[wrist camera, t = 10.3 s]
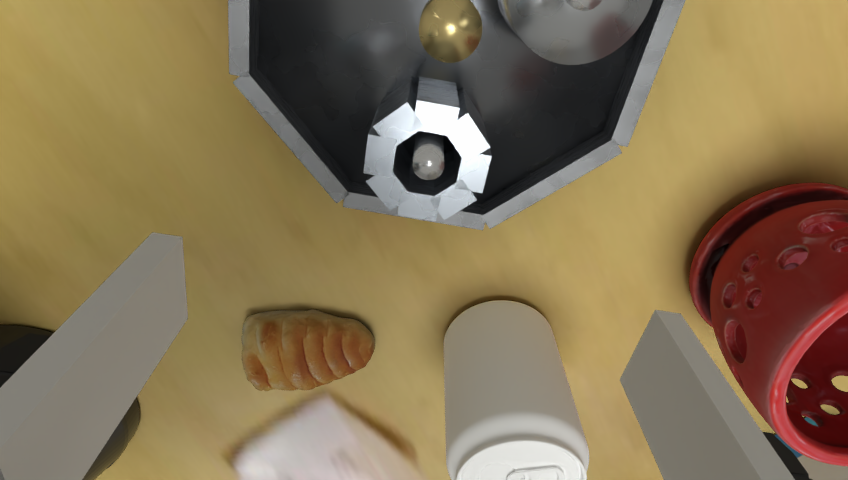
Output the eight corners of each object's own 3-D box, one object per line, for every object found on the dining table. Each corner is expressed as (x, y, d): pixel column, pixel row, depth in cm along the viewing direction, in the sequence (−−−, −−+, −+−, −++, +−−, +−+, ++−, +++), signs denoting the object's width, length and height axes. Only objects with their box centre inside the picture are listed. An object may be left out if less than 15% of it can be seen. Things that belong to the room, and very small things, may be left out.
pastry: (366, 295, 37) (360, 330, 33) (383, 364, 40) (378, 401, 37) (242, 308, 37) (223, 343, 34) (268, 374, 41) (254, 412, 38)
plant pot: (888, 281, 35) (1080, 422, 25) (696, 349, 38) (793, 498, 28) (869, 117, 29) (1107, 210, 19) (645, 213, 33) (743, 336, 22)
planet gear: (382, 69, 27) (373, 92, 23) (491, 89, 28) (502, 115, 23) (369, 171, 30) (358, 208, 26) (468, 188, 31) (473, 227, 26)
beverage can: (439, 298, 36) (441, 438, 26) (553, 290, 36) (602, 430, 26) (447, 380, 40) (451, 530, 30) (550, 374, 40) (590, 525, 30)
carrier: (241, 173, 32) (196, 226, 26) (240, -315, 21) (161, -422, 15) (579, 230, 33) (611, 293, 27) (740, -196, 23) (853, -250, 16)
